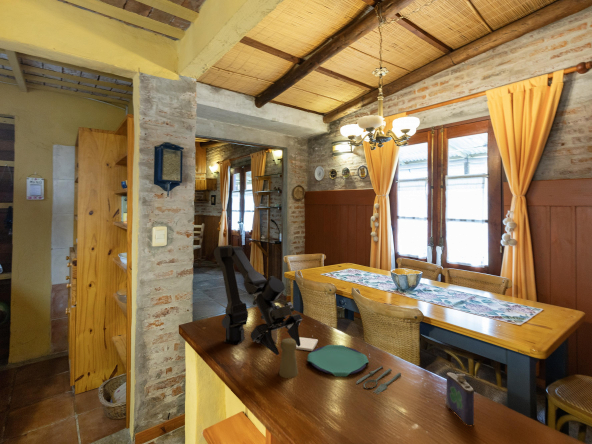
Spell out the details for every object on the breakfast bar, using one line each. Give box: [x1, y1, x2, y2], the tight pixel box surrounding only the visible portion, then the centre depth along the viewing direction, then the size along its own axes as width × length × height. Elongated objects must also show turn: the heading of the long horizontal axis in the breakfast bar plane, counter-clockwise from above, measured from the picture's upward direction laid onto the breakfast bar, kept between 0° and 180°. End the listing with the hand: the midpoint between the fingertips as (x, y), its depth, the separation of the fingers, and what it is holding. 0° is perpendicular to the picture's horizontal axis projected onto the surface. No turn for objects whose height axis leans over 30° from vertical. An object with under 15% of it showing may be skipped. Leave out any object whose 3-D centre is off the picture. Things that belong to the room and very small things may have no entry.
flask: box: [445, 372, 475, 426], centre depth 80 cm, size 9×3×11 cm, turn 8°
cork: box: [278, 337, 299, 379], centre depth 100 cm, size 6×6×11 cm
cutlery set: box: [307, 344, 402, 395], centre depth 104 cm, size 20×30×2 cm, turn 43°
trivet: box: [295, 336, 319, 352], centre depth 122 cm, size 9×9×1 cm
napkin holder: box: [255, 329, 278, 345], centre depth 124 cm, size 8×3×6 cm, turn 83°
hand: (289, 350), depth 100 cm, fingers open, 9 cm apart
